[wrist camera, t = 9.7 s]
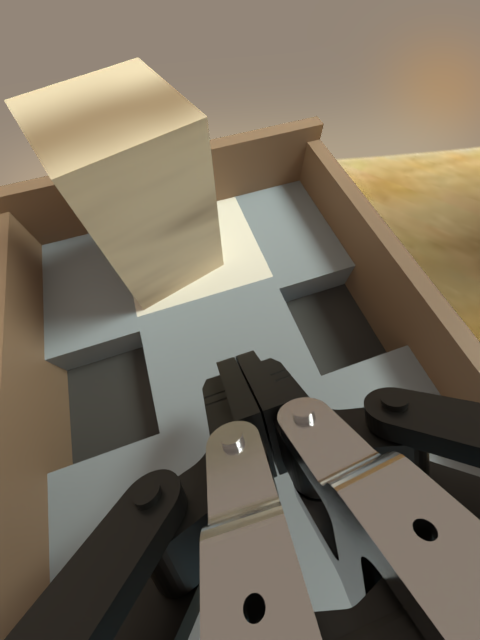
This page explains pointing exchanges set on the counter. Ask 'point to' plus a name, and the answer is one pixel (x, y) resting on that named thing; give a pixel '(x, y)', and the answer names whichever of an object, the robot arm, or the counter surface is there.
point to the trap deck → (198, 345)
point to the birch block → (131, 172)
